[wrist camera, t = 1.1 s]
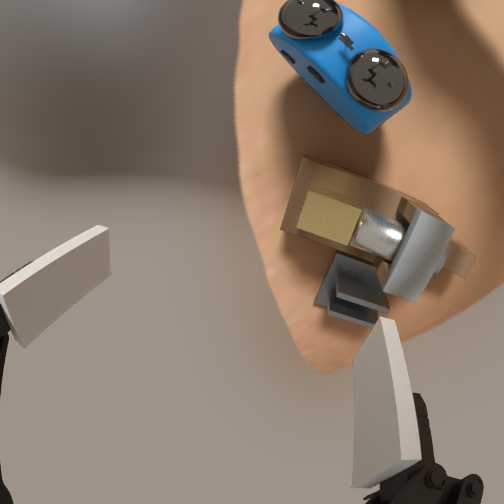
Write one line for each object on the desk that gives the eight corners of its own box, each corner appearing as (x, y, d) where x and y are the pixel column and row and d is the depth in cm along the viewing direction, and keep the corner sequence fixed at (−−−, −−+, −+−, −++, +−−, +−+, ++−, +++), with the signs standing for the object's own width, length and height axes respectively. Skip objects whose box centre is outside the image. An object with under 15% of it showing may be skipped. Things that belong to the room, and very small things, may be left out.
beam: (285, 216, 33) (270, 252, 24) (304, 155, 30) (297, 163, 20) (442, 276, 31) (473, 323, 21) (467, 225, 27) (509, 261, 18)
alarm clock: (391, 108, 25) (445, 90, 12) (354, 138, 28) (383, 138, 14) (314, 30, 23) (306, -37, 10) (277, 58, 26) (243, 5, 12)
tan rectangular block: (299, 215, 28) (296, 227, 24) (310, 183, 26) (308, 190, 23) (344, 231, 27) (347, 245, 24) (356, 199, 26) (361, 209, 22)
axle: (347, 233, 28) (348, 253, 24) (361, 200, 25) (365, 216, 22) (422, 263, 27) (431, 284, 23) (439, 234, 24) (450, 253, 21)
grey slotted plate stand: (336, 250, 34) (338, 272, 28) (395, 272, 33) (406, 296, 27) (314, 299, 37) (312, 326, 32) (370, 317, 36) (374, 344, 31)
